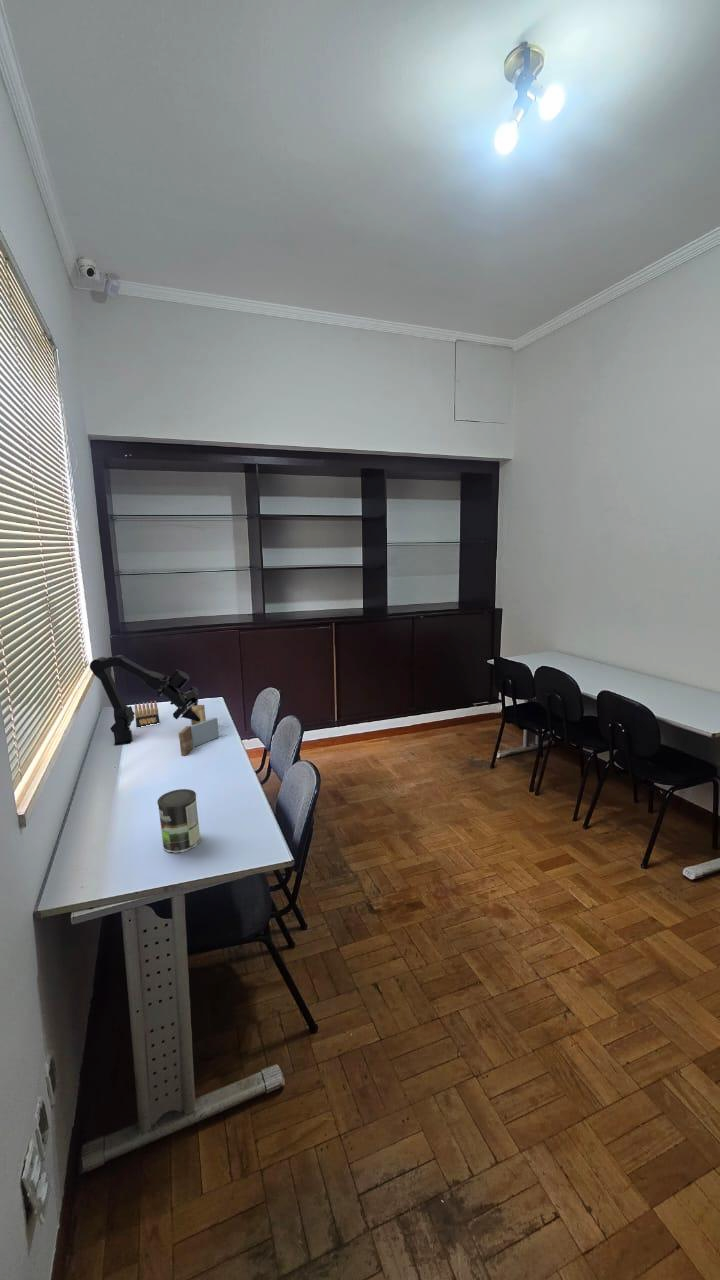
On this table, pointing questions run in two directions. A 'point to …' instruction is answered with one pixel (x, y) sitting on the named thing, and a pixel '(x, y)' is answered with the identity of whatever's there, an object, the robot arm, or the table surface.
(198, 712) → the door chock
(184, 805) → the coffee can
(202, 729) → the door
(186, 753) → the partition wall
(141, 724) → the ammunition clip
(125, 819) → the table surface
